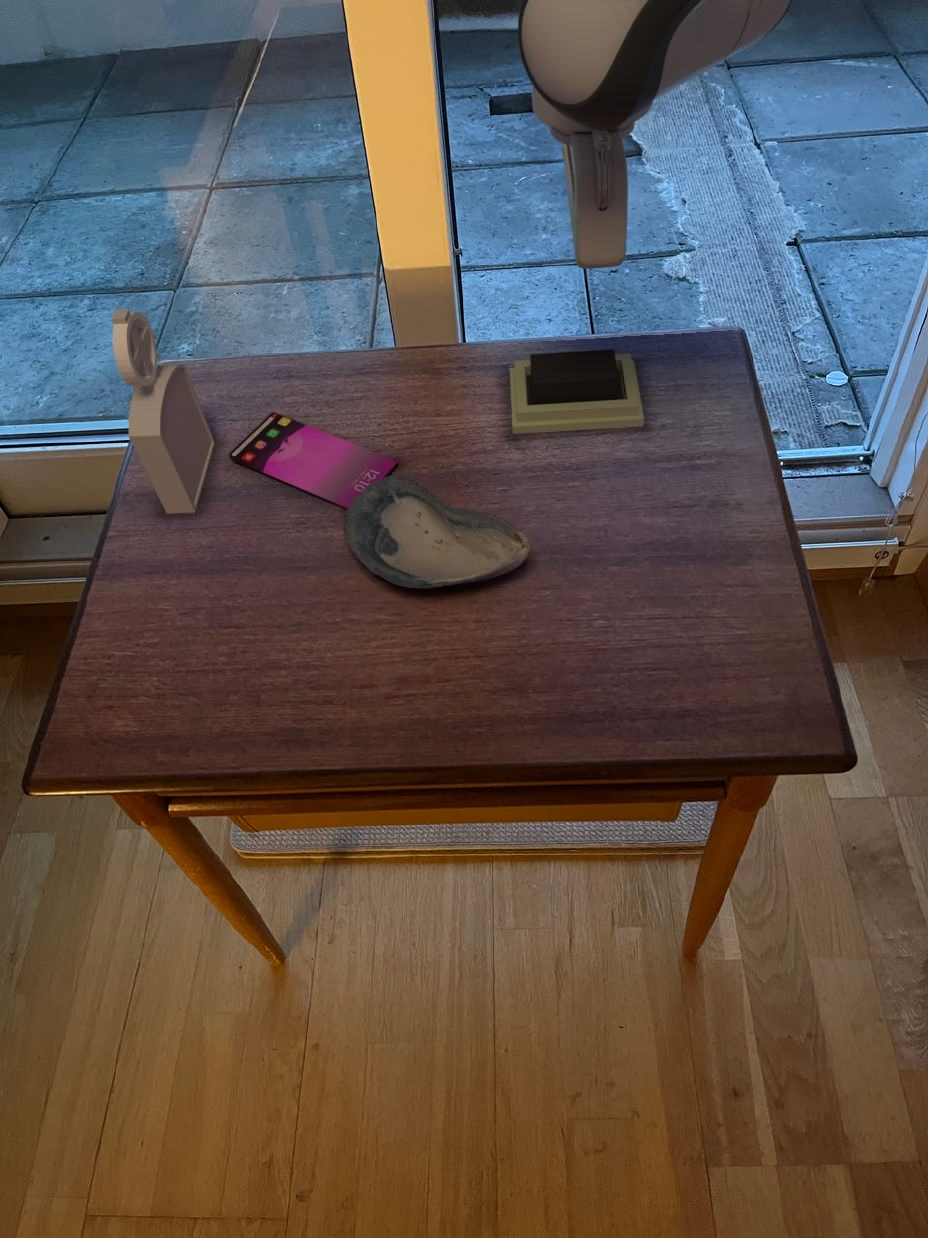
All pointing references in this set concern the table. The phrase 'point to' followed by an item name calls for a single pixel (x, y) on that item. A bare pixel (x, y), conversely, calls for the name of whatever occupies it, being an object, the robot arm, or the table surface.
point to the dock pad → (575, 404)
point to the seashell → (428, 537)
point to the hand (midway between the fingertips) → (589, 255)
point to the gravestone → (162, 416)
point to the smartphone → (311, 459)
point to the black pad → (574, 377)
